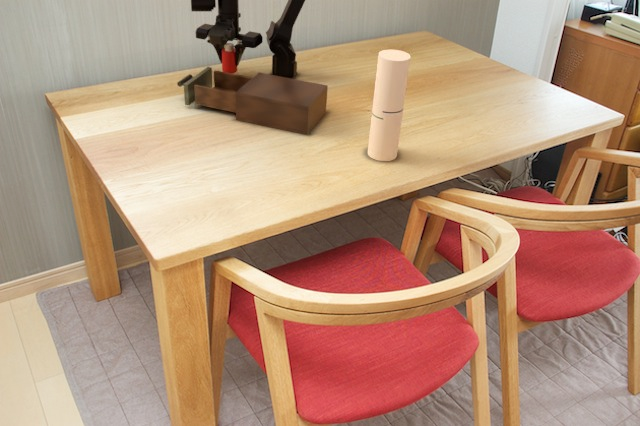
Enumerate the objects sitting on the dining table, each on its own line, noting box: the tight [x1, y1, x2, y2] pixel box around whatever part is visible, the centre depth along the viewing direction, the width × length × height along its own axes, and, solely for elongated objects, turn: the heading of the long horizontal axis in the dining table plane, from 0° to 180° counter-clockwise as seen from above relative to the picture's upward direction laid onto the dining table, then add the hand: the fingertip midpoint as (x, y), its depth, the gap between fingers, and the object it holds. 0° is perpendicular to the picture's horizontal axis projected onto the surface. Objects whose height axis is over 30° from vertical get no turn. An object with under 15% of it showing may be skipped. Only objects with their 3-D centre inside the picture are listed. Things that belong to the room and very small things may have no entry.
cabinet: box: [235, 72, 328, 136], centre depth 172 cm, size 20×15×8 cm
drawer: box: [177, 66, 253, 114], centre depth 176 cm, size 23×14×6 cm, turn 71°
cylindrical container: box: [367, 49, 411, 162], centre depth 153 cm, size 7×7×25 cm
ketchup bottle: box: [221, 42, 238, 74], centre depth 191 cm, size 4×4×8 cm
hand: (229, 64), depth 192 cm, fingers closed on ketchup bottle, 4 cm apart
